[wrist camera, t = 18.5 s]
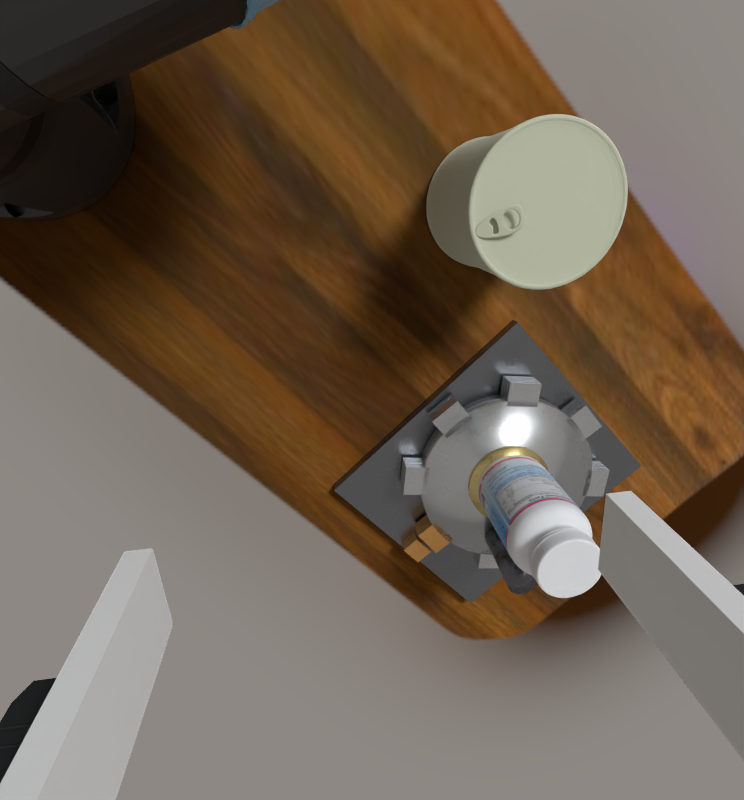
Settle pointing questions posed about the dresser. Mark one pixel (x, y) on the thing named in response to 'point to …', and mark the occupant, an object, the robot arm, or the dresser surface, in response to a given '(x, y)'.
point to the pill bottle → (540, 525)
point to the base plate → (381, 468)
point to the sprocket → (487, 442)
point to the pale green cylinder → (530, 201)
